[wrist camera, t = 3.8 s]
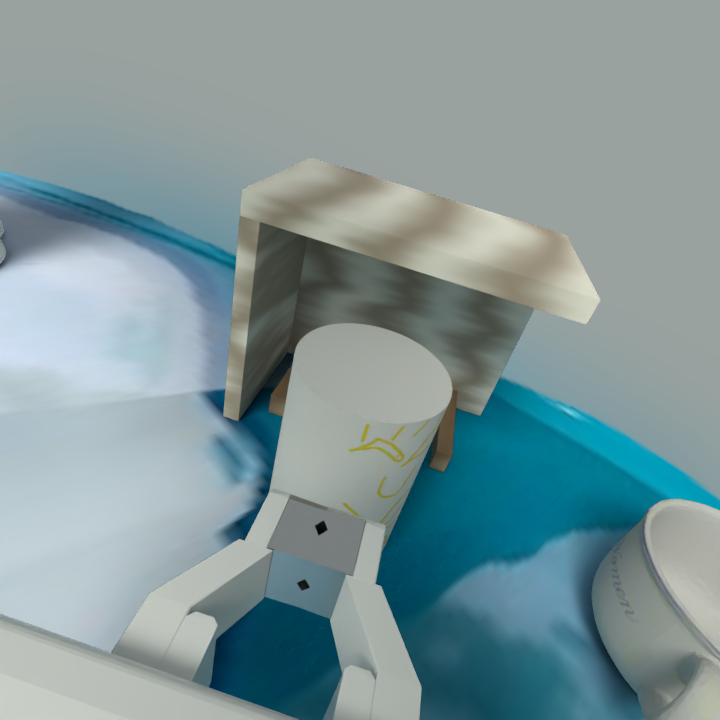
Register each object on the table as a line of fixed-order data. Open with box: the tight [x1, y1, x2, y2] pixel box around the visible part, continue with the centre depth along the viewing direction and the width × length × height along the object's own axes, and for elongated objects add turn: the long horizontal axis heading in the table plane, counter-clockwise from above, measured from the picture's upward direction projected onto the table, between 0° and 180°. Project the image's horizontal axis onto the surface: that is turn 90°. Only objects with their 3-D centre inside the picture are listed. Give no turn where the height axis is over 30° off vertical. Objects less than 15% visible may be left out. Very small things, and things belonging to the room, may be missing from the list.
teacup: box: [592, 499, 720, 720], centre depth 24 cm, size 14×11×8 cm
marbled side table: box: [223, 158, 600, 472], centre depth 34 cm, size 20×12×17 cm, turn 77°
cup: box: [269, 323, 452, 550], centre depth 26 cm, size 8×8×12 cm
